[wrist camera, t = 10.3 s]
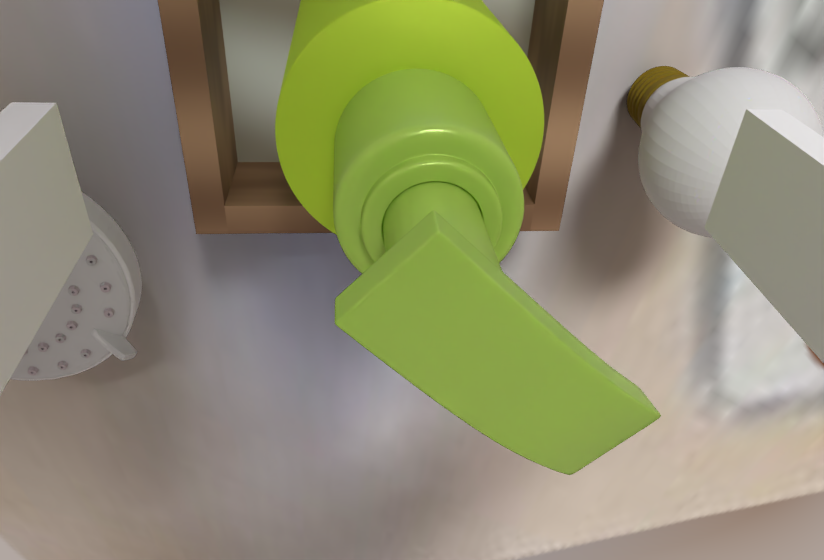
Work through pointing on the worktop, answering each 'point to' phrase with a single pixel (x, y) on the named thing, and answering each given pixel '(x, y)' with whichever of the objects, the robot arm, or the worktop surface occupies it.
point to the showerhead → (89, 307)
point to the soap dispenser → (442, 217)
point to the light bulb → (700, 132)
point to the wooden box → (260, 88)
